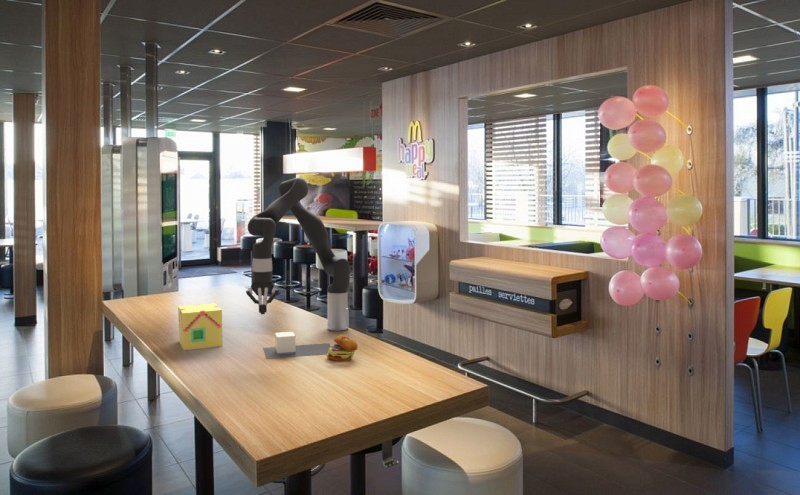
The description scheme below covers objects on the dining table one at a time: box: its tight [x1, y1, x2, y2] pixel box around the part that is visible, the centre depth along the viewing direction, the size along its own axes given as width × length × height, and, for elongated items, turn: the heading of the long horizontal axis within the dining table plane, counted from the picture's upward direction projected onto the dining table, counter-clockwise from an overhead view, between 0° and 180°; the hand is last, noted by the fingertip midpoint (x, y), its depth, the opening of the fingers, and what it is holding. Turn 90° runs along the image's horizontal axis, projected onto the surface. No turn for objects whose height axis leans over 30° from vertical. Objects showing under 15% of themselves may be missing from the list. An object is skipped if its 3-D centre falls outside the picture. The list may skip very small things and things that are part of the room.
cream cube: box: [274, 331, 296, 355], centre depth 229 cm, size 7×7×7 cm
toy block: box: [177, 302, 224, 351], centre depth 241 cm, size 15×15×15 cm
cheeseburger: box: [326, 334, 358, 362], centre depth 222 cm, size 10×11×10 cm
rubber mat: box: [262, 342, 332, 360], centre depth 232 cm, size 27×16×1 cm, turn 108°
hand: (262, 313), depth 226 cm, fingers closed
